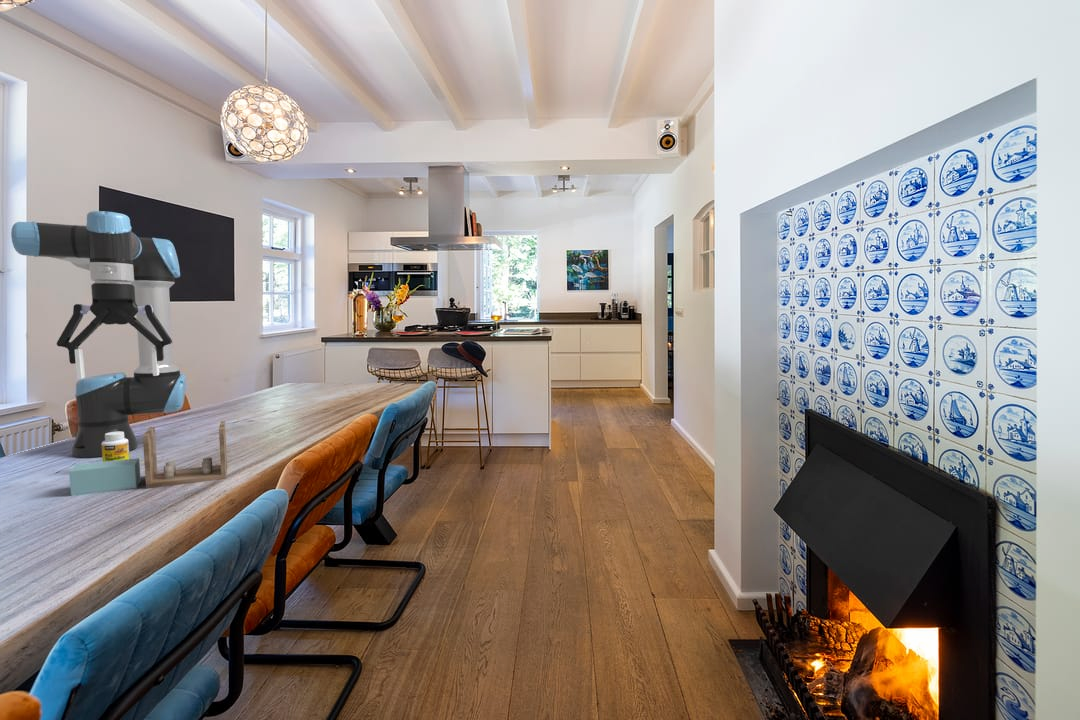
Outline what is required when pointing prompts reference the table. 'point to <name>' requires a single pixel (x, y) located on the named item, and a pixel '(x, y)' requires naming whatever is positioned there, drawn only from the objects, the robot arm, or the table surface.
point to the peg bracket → (184, 475)
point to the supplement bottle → (115, 447)
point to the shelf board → (104, 476)
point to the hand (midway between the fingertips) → (119, 376)
